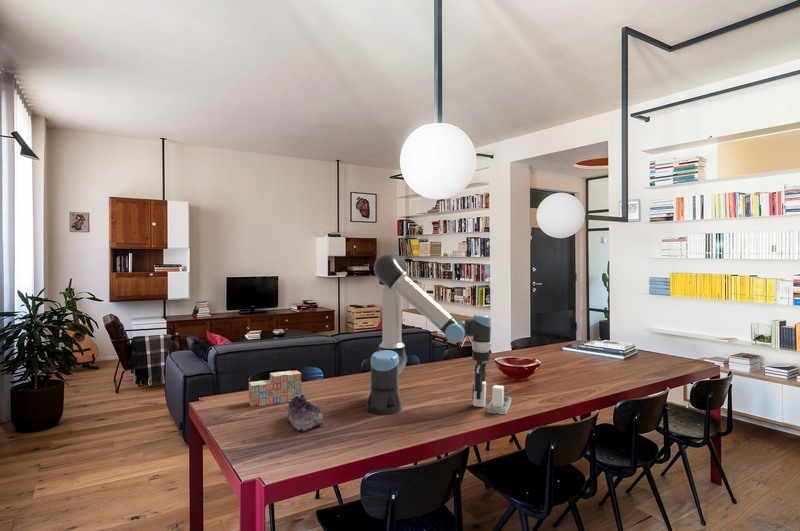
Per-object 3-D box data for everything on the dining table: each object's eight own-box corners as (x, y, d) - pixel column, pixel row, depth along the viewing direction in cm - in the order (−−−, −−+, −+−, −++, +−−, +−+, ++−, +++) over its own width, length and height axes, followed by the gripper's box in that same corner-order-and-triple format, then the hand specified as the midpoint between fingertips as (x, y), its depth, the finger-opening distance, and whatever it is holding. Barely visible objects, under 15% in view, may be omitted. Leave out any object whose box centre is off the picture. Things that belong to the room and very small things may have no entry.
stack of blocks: (251, 407, 198) (251, 378, 197) (248, 403, 203) (248, 375, 203) (301, 400, 208) (301, 373, 207) (297, 396, 213) (297, 369, 213)
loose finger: (483, 407, 201) (484, 384, 200) (472, 405, 203) (472, 382, 202) (485, 404, 204) (486, 381, 204) (473, 402, 206) (474, 380, 206)
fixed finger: (492, 411, 196) (492, 387, 196) (494, 407, 201) (494, 384, 201) (501, 412, 195) (502, 388, 195) (503, 408, 200) (504, 385, 199)
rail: (505, 414, 193) (505, 409, 193) (487, 412, 195) (487, 407, 195) (511, 401, 209) (511, 396, 209) (494, 399, 212) (494, 394, 212)
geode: (276, 418, 186) (279, 392, 186) (304, 417, 192) (307, 392, 193) (296, 433, 169) (299, 405, 170) (325, 431, 175) (328, 404, 176)
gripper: (486, 355, 193) (484, 411, 194) (493, 347, 209) (491, 399, 210) (468, 353, 196) (466, 409, 197) (476, 346, 212) (475, 397, 213)
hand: (479, 404), depth 203 cm, fingers closed on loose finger, 4 cm apart
